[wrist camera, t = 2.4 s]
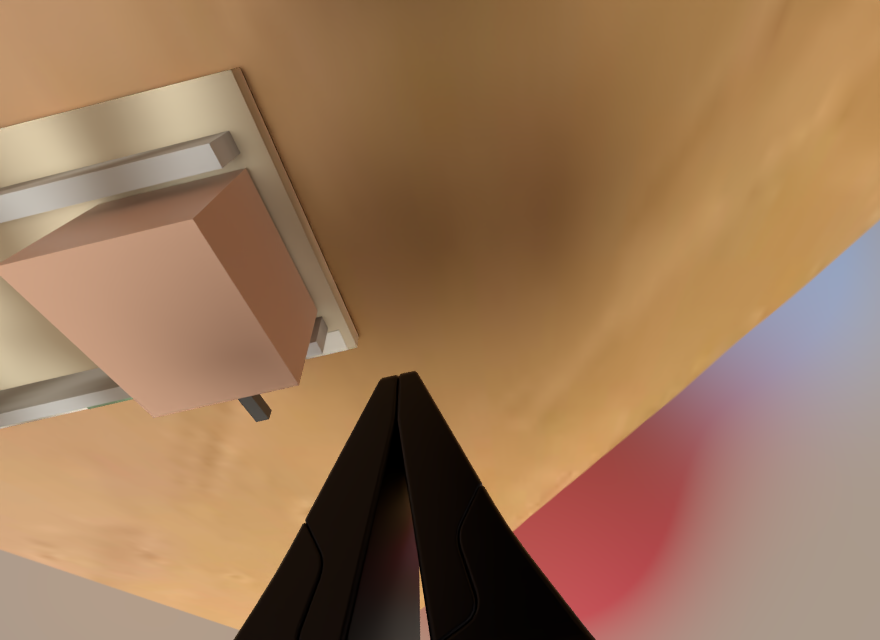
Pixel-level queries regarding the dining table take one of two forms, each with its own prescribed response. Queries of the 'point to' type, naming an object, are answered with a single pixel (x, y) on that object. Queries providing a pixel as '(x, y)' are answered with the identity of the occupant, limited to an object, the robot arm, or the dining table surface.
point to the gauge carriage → (176, 295)
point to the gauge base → (123, 175)
